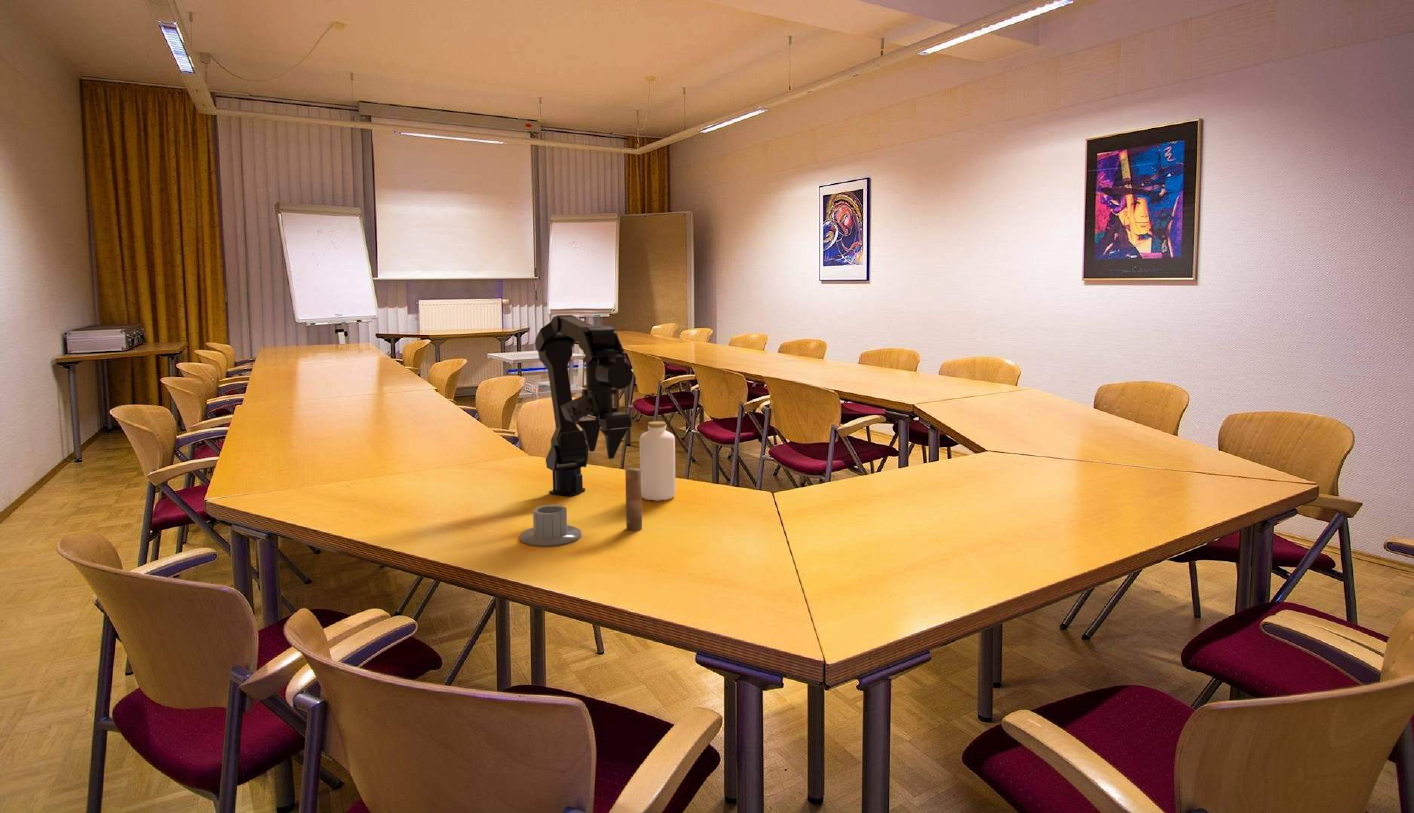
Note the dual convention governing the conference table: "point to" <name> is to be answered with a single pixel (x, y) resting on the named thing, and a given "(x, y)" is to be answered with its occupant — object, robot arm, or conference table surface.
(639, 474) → the brown wooden dowel
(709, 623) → the conference table surface
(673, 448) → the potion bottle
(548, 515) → the grey flared collar base
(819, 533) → the conference table surface
